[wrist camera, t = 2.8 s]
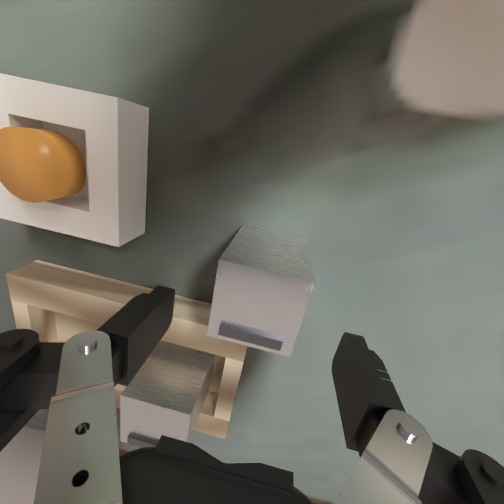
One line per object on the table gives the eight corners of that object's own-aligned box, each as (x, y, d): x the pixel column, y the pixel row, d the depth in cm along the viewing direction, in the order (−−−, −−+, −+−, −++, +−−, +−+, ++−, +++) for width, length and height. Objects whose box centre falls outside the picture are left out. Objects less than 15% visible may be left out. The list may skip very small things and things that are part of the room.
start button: (23, 124, 14) (-18, 119, 12) (84, 137, 14) (52, 134, 12) (32, 189, 15) (-3, 194, 14) (87, 202, 15) (59, 209, 13)
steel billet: (242, 224, 17) (217, 261, 11) (307, 240, 17) (315, 284, 11) (232, 281, 19) (205, 337, 13) (290, 296, 18) (290, 360, 13)
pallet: (37, 259, 20) (5, 273, 18) (254, 314, 19) (249, 336, 17) (52, 361, 25) (27, 382, 22) (231, 411, 24) (225, 439, 21)
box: (26, 82, 16) (-31, 66, 13) (149, 107, 15) (117, 97, 12) (42, 208, 19) (-1, 217, 16) (144, 232, 18) (118, 247, 15)
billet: (166, 330, 21) (118, 397, 15) (218, 344, 20) (189, 418, 15) (162, 369, 22) (118, 444, 17) (211, 383, 22) (182, 463, 16)
